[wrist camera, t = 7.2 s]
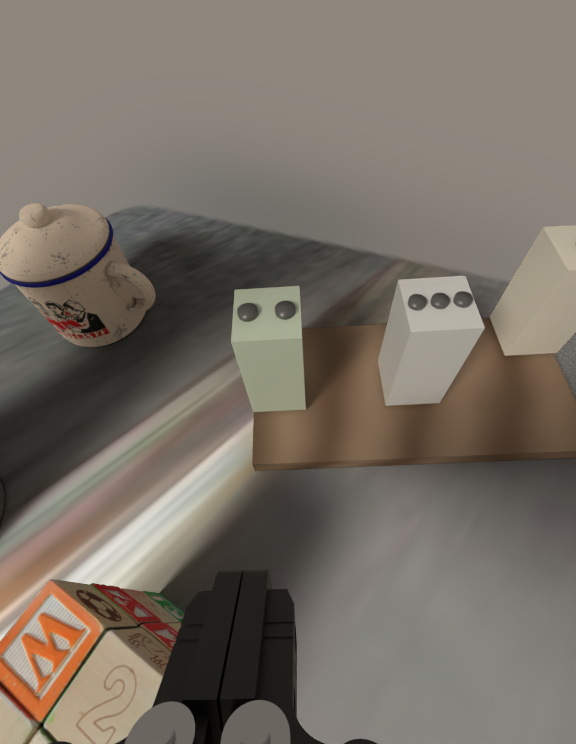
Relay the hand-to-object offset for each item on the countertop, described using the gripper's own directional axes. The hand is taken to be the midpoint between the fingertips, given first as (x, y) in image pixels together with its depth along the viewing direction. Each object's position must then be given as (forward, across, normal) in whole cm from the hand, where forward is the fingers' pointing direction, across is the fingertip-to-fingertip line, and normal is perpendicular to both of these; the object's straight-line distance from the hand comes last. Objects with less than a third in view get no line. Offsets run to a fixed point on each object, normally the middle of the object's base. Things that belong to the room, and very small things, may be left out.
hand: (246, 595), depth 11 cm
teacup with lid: (+28, +16, -6) cm, 33 cm away
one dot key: (+22, -20, -4) cm, 30 cm away
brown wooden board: (+21, -10, 0) cm, 23 cm away
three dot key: (+20, -10, -1) cm, 22 cm away
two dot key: (+20, 0, -1) cm, 20 cm away
